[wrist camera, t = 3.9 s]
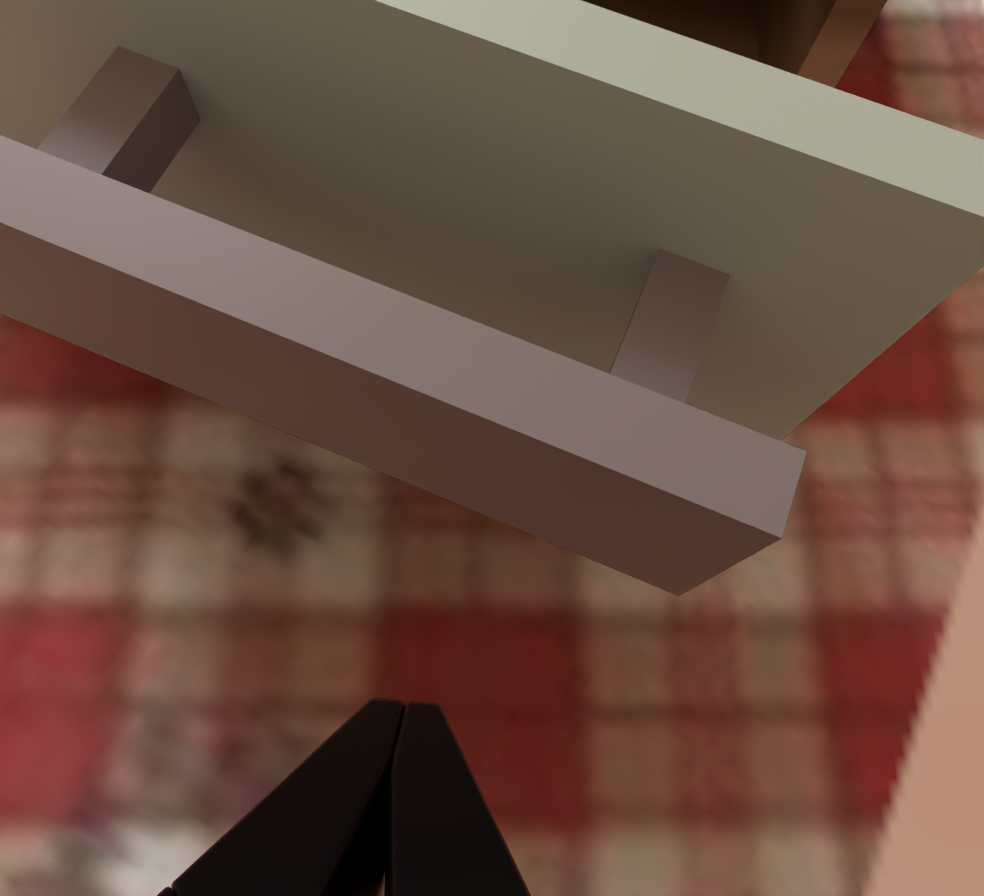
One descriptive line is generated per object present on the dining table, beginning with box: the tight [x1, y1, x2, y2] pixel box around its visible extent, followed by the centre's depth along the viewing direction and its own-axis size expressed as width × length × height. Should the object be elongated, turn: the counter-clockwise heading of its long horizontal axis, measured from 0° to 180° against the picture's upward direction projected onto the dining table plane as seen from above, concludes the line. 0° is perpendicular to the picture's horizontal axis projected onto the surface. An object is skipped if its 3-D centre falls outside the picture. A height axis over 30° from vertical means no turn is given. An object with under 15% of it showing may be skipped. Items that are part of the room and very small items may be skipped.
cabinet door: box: [0, 0, 984, 596], centre depth 14 cm, size 6×23×9 cm, turn 67°
